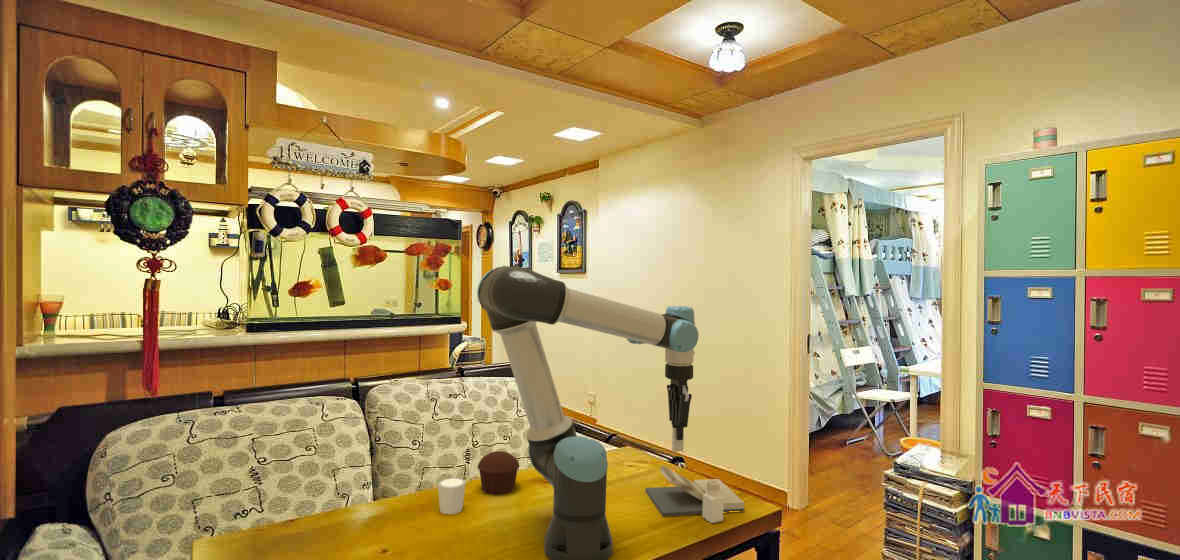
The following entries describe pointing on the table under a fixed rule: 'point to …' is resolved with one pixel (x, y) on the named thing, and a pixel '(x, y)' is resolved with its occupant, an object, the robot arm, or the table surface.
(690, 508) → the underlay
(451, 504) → the white tapered cylinder
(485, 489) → the muffin
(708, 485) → the salt shaker
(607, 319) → the robot arm
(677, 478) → the plank
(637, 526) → the table surface
